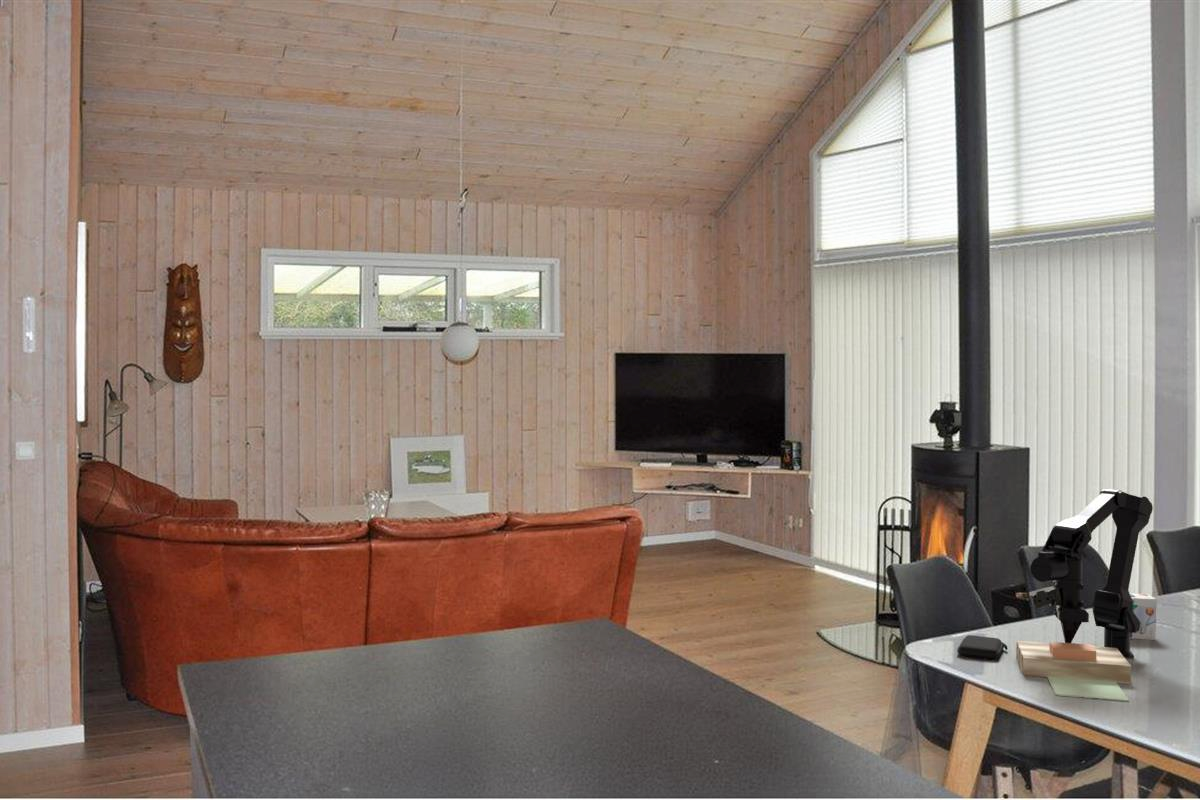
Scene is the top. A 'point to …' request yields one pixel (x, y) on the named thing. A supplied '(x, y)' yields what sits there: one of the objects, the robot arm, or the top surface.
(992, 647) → the carrying case or bag
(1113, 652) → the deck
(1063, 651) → the block
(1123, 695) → the mat
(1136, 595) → the light bulb box
